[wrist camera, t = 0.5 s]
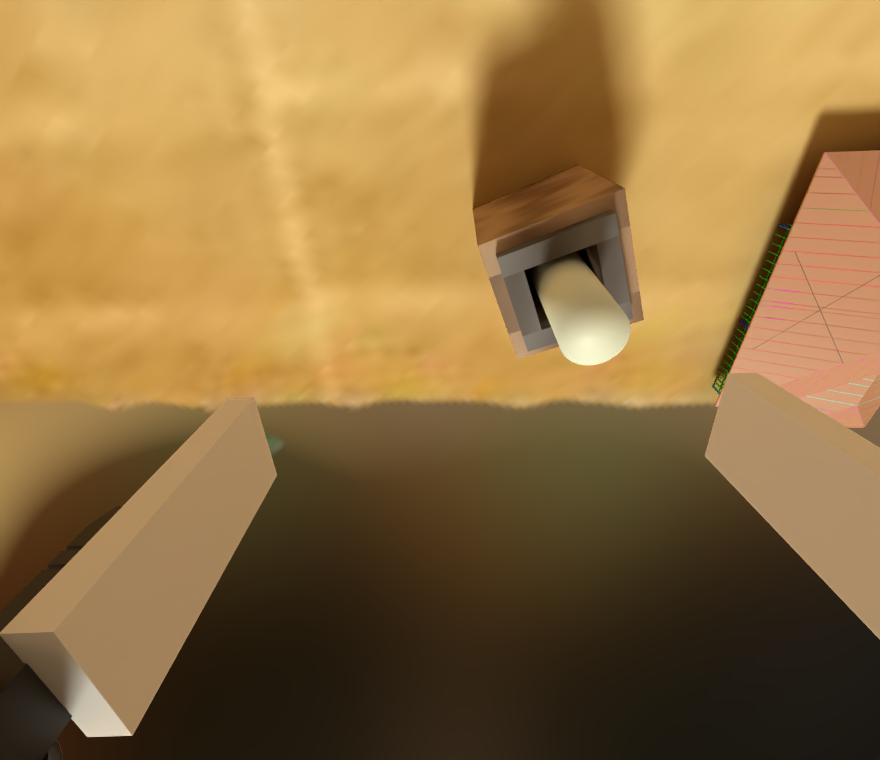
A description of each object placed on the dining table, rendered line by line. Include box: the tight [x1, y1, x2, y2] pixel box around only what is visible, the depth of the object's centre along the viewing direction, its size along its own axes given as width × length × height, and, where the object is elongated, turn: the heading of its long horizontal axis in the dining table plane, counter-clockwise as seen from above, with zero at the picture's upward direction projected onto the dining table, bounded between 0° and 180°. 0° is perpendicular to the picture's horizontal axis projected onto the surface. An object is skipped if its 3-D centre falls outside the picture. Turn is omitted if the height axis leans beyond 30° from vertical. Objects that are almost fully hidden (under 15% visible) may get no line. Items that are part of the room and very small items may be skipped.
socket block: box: [473, 165, 644, 359], centre depth 35 cm, size 10×10×13 cm
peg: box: [529, 251, 631, 365], centre depth 28 cm, size 4×4×12 cm
